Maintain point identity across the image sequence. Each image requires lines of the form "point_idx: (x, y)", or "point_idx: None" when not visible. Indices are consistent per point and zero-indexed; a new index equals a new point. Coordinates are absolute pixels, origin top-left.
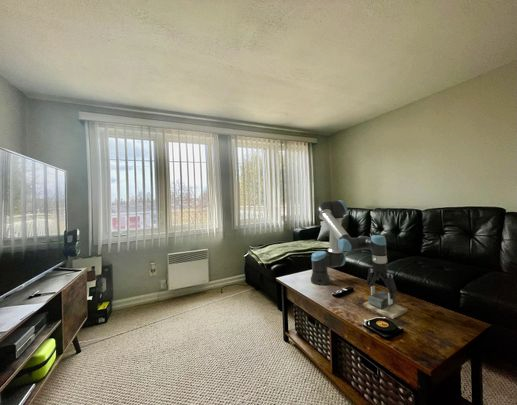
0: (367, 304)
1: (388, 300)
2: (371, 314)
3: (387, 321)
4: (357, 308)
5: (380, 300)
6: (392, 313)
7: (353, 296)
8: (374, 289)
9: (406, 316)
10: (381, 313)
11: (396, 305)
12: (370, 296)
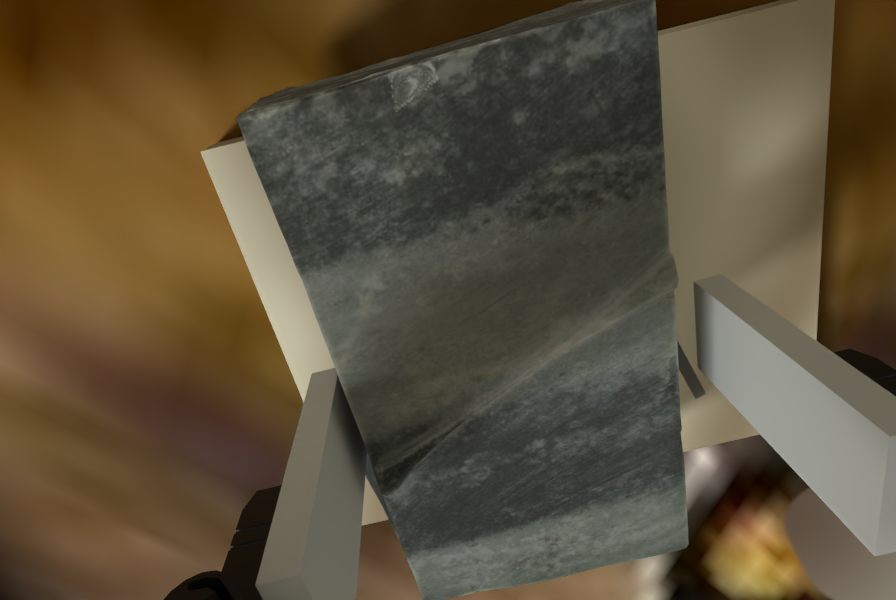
0: None
1: (744, 412)
2: None
3: (781, 485)
4: (398, 589)
5: (656, 531)
6: None
7: (2, 450)
8: (322, 499)
9: (865, 179)
10: None
11: None
12: (434, 573)
